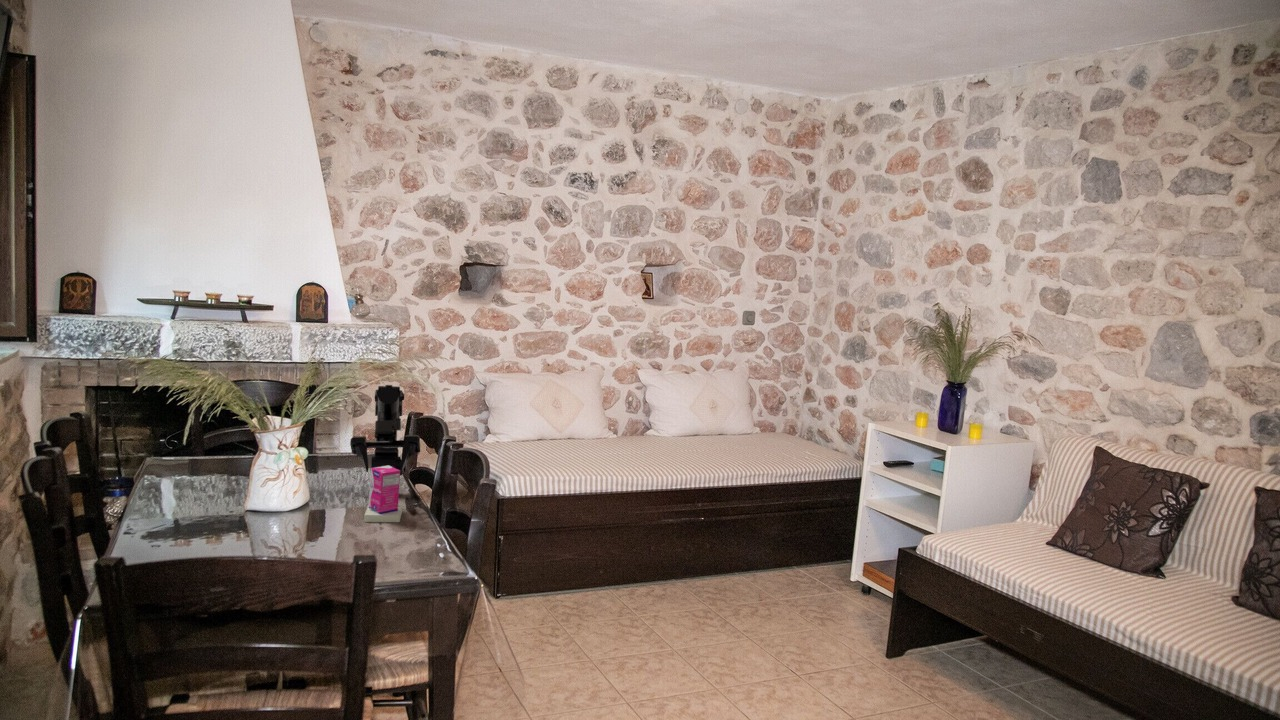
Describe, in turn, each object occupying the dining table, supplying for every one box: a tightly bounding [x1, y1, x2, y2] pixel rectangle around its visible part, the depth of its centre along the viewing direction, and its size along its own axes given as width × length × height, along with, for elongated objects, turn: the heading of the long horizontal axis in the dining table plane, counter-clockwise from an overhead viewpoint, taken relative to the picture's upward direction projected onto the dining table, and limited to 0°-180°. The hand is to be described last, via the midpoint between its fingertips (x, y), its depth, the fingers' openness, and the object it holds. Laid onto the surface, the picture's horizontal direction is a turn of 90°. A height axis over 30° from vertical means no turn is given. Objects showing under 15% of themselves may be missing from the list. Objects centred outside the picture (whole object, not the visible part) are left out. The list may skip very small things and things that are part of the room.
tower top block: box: [363, 504, 403, 523], centre depth 224 cm, size 9×9×2 cm
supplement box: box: [368, 465, 401, 514], centre depth 223 cm, size 6×6×12 cm
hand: (384, 470), depth 230 cm, fingers open, 9 cm apart
